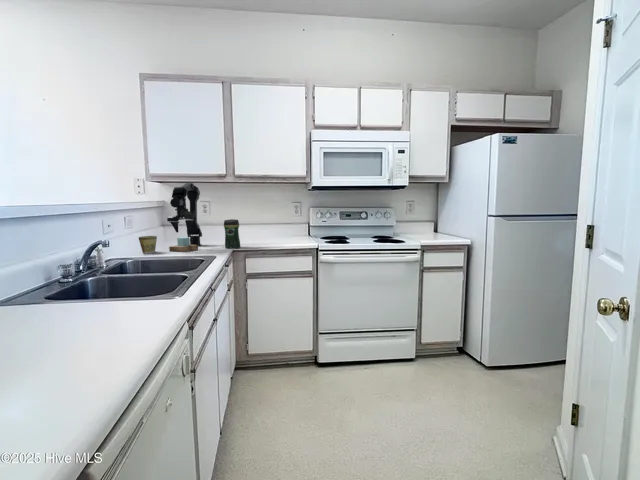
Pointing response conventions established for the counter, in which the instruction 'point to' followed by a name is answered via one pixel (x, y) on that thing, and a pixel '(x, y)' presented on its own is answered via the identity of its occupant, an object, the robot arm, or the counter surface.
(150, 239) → the ceramic cup
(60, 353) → the counter surface
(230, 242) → the coffee jar
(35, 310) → the counter surface
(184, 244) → the teal cube
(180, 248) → the walnut plinth
